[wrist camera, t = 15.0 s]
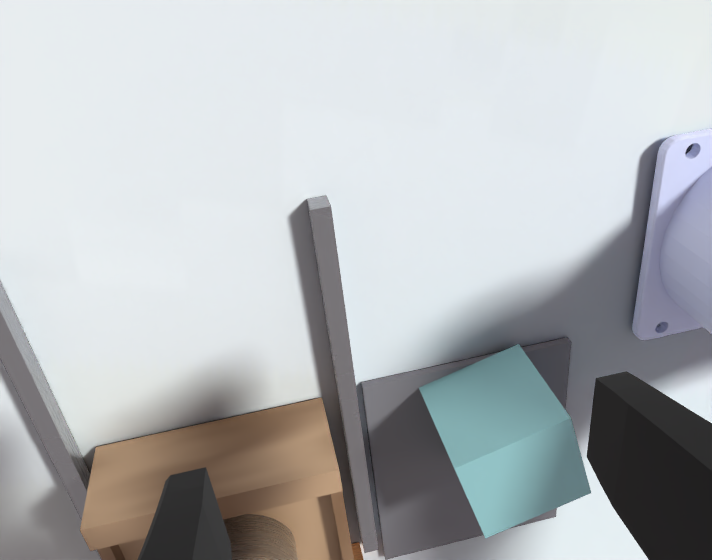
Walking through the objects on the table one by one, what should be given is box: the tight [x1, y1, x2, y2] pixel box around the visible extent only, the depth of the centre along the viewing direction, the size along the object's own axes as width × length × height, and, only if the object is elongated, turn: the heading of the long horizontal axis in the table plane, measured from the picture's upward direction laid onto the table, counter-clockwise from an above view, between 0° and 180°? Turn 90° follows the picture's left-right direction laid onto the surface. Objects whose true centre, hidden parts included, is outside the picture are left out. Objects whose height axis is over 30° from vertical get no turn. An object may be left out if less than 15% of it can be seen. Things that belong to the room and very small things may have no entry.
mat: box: [361, 338, 571, 560], centre depth 27 cm, size 8×10×1 cm
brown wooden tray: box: [80, 398, 354, 560], centre depth 24 cm, size 8×8×4 cm
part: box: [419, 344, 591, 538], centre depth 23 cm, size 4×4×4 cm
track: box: [0, 196, 378, 560], centre depth 23 cm, size 10×17×1 cm, turn 6°
